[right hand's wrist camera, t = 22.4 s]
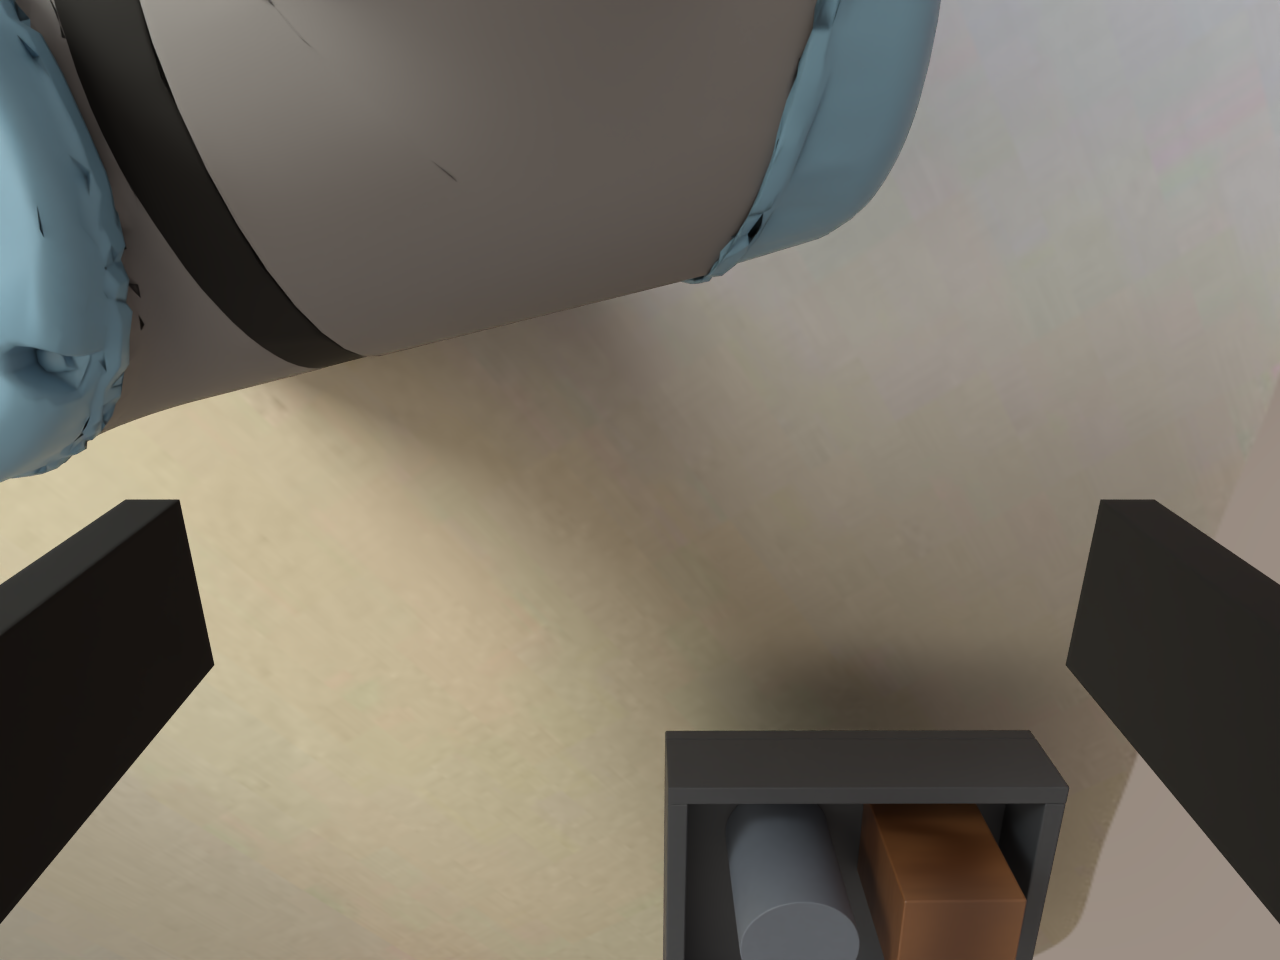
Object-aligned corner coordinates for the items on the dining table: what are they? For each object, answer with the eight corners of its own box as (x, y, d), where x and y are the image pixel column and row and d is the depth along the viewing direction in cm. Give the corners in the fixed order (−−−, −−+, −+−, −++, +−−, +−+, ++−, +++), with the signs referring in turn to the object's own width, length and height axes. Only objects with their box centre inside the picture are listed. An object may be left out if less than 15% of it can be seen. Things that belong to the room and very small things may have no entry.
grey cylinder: (723, 870, 38) (737, 991, 33) (726, 789, 37) (742, 902, 31) (823, 870, 38) (854, 992, 33) (831, 789, 37) (865, 902, 31)
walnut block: (856, 869, 38) (893, 991, 33) (864, 788, 37) (904, 901, 31) (956, 868, 38) (1011, 990, 33) (968, 787, 37) (1027, 900, 31)
